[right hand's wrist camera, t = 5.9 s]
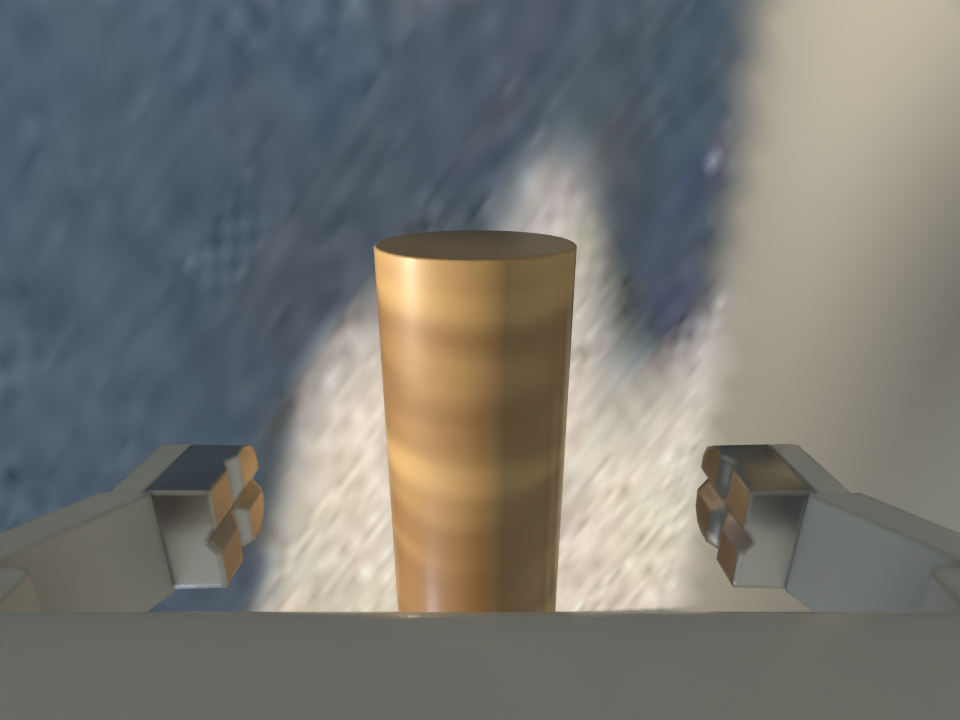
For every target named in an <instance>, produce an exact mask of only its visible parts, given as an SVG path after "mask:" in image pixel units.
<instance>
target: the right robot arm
mask: <svg viewBox="0 0 960 720" xmlns="http://www.w3.org/2000/svg"><path fill="white" fill-rule="evenodd" d="M258 468H259V466H258V461H257V456H256V451H255V450H254V449H253V448H252V447H251V446H248V445H194V444H172V445H162V446H160V447H159V448H158V449H157V450H156V451H155V452H154V453H153V454H152V455H150V456H149V457H148V458H147V459H146V460H145V461H144V462H143V463H142V464H140V465H139V466H138V467H137V468H136V469H135V470H134V471H133V472H132V473H130V474H129V475H128V476H127V477H126V478H125V479H124V480H123V481H122V482H120V483H119V484H118V485H117V486H116V487H115V488H114V489H113V490H112V491H110V492H109V493H98V494H96V495H93V496H91V497H88V498H86V499H83V500H81V501H79V502H76V503H74V504H71V505H69V506H66V507H64V508H61V509H59V510H56V511H54V512H51V513H49V514H46V515H44V516H41V517H39V518H36V519H34V520H31V521H29V522H26V523H24V524H21V525H19V526H17V527H14V528H12V529H9V530H7V531H4V532H2V533H0V720H960V533H958V532H956V531H953V530H951V529H948V528H946V527H943V526H941V525H938V524H936V523H933V522H931V521H928V520H926V519H923V518H921V517H919V516H916V515H914V514H911V513H909V512H906V511H904V510H901V509H899V508H896V507H894V506H891V505H889V504H886V503H884V502H881V501H879V500H877V499H874V498H872V497H869V496H867V495H864V494H862V493H851V492H850V491H848V490H847V489H846V488H845V487H844V486H843V485H842V484H841V483H840V482H838V481H837V480H836V479H835V478H834V477H833V476H832V475H831V474H830V473H829V472H827V471H826V470H825V469H824V468H823V467H822V466H821V465H820V464H819V463H817V462H816V461H815V460H814V459H813V458H812V457H811V456H810V455H809V454H807V453H806V452H805V451H804V450H803V449H802V448H801V447H800V446H797V445H794V444H776V445H768V444H766V445H725V446H710V447H707V448H706V451H705V453H704V455H703V460H702V466H701V468H702V470H703V471H704V473H705V474H706V476H707V477H708V479H707V480H706V481H705V482H704V483H703V484H702V485H701V486H700V487H699V488H698V491H697V499H696V513H697V521H698V525H699V528H700V531H701V533H702V535H703V536H704V538H705V540H706V542H708V543H710V544H711V545H713V546H714V547H716V548H718V554H717V561H718V562H719V564H720V566H721V567H722V569H723V571H724V572H725V574H726V576H727V577H728V579H729V581H730V582H731V584H732V586H733V587H741V588H778V589H786V592H788V593H789V594H790V595H792V596H793V597H795V598H796V599H797V600H798V601H800V602H801V603H802V604H804V605H805V606H807V607H808V608H809V609H810V610H812V611H813V612H147V611H148V610H150V609H151V608H152V607H154V606H155V605H156V604H158V603H159V602H161V601H162V600H163V599H165V598H166V597H167V596H169V595H170V594H171V593H173V592H174V589H182V588H218V587H227V586H228V584H229V583H230V581H231V579H232V577H233V576H234V574H235V572H236V571H237V569H238V567H239V566H240V564H241V562H242V561H243V554H242V548H244V547H246V546H247V545H249V544H250V543H252V542H254V540H255V538H256V536H257V535H258V533H259V531H260V528H261V524H262V520H263V516H264V497H263V491H262V488H261V487H260V486H259V485H258V484H257V483H256V482H255V481H254V480H253V479H252V477H253V476H254V474H255V473H256V471H257V470H258Z"/></svg>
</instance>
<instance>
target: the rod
mask: <svg viewBox="0 0 960 720" xmlns="http://www.w3.org/2000/svg"><path fill="white" fill-rule="evenodd" d="M576 249H577V246H576V244H575V243H574V242H572V241H570V240H567V239H564V238H561V237H556V236H551V235H545V234H537V233H527V232H513V231H479V230H473V231H441V232H427V233H416V234H408V235H402V236H396V237H392V238H388V239H384V240H382V241H380V242H378V243H376V244H375V246H374V257H375V272H376V286H377V301H378V316H379V331H380V346H381V361H382V376H383V391H384V406H385V421H386V436H387V450H388V465H389V480H390V495H391V510H392V525H393V540H394V555H395V570H396V585H397V600H398V612H555V607H556V590H557V573H558V556H559V539H560V522H561V504H562V487H563V470H564V453H565V436H566V419H567V402H568V385H569V368H570V351H571V334H572V317H573V300H574V283H575V266H576Z"/></svg>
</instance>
